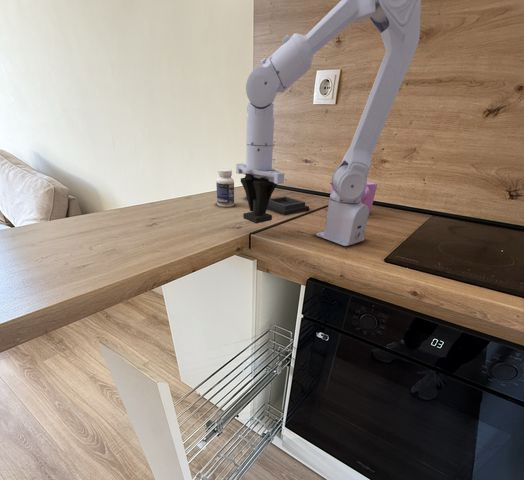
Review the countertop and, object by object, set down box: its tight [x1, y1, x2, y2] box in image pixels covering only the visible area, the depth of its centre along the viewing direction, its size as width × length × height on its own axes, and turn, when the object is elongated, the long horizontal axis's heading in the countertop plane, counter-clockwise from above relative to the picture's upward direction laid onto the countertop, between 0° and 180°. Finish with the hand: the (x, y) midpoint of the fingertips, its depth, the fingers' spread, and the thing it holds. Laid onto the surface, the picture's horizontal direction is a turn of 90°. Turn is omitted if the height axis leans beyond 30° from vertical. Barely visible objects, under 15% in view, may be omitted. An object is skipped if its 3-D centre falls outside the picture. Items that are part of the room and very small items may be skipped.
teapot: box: [328, 180, 378, 213], centre depth 93 cm, size 18×14×10 cm
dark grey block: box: [242, 199, 273, 225], centre depth 73 cm, size 5×5×4 cm
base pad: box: [267, 195, 310, 216], centre depth 96 cm, size 11×11×2 cm
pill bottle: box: [215, 168, 235, 208], centre depth 93 cm, size 5×5×10 cm
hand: (257, 211), depth 74 cm, fingers closed on dark grey block, 2 cm apart
